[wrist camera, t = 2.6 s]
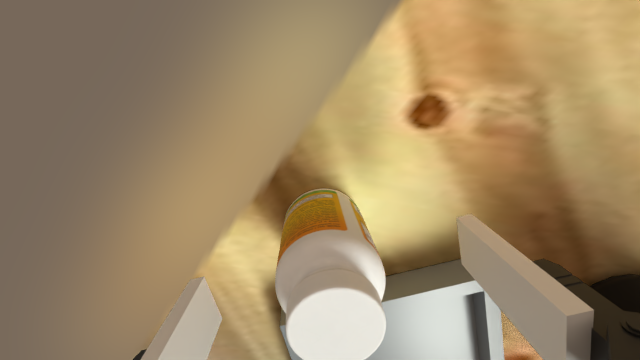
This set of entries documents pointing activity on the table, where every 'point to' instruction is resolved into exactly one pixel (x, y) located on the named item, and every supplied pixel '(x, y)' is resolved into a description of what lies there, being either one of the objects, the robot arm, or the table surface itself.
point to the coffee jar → (621, 291)
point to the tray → (435, 317)
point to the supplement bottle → (330, 279)
